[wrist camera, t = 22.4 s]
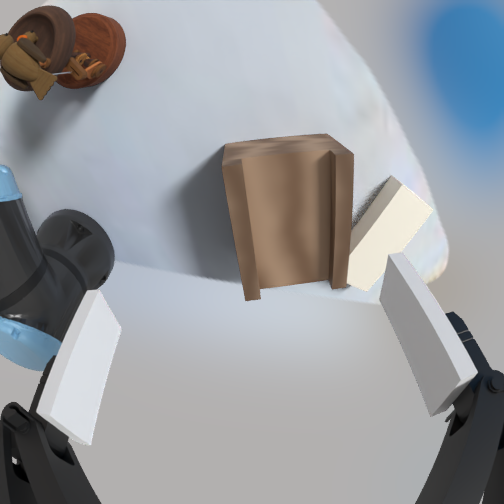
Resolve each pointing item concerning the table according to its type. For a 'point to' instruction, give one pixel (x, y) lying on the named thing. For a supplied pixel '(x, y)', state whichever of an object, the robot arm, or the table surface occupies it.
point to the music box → (60, 50)
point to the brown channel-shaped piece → (290, 210)
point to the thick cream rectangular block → (384, 232)
